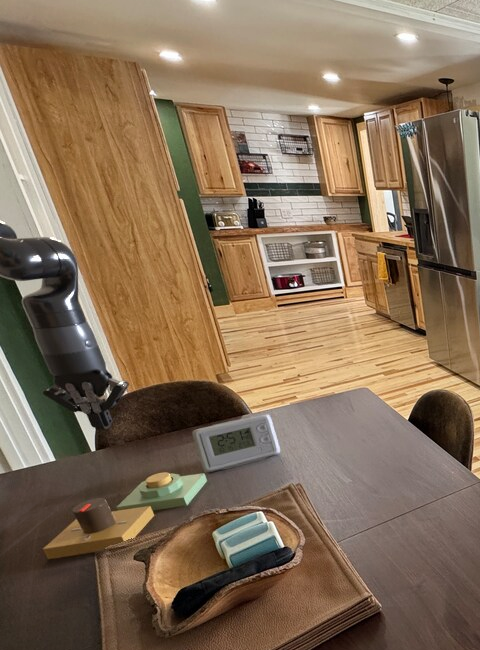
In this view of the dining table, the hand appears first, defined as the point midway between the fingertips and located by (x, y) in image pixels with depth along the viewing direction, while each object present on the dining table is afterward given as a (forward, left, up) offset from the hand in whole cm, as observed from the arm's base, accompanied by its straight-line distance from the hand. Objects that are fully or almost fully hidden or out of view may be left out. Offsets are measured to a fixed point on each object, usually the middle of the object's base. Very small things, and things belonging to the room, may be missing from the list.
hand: (103, 427), depth 97 cm
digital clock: (+15, +14, -19) cm, 29 cm away
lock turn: (-1, -11, -16) cm, 20 cm away
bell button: (+4, +1, -15) cm, 16 cm away
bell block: (+4, +1, -19) cm, 20 cm away
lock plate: (-1, -11, -19) cm, 22 cm away
